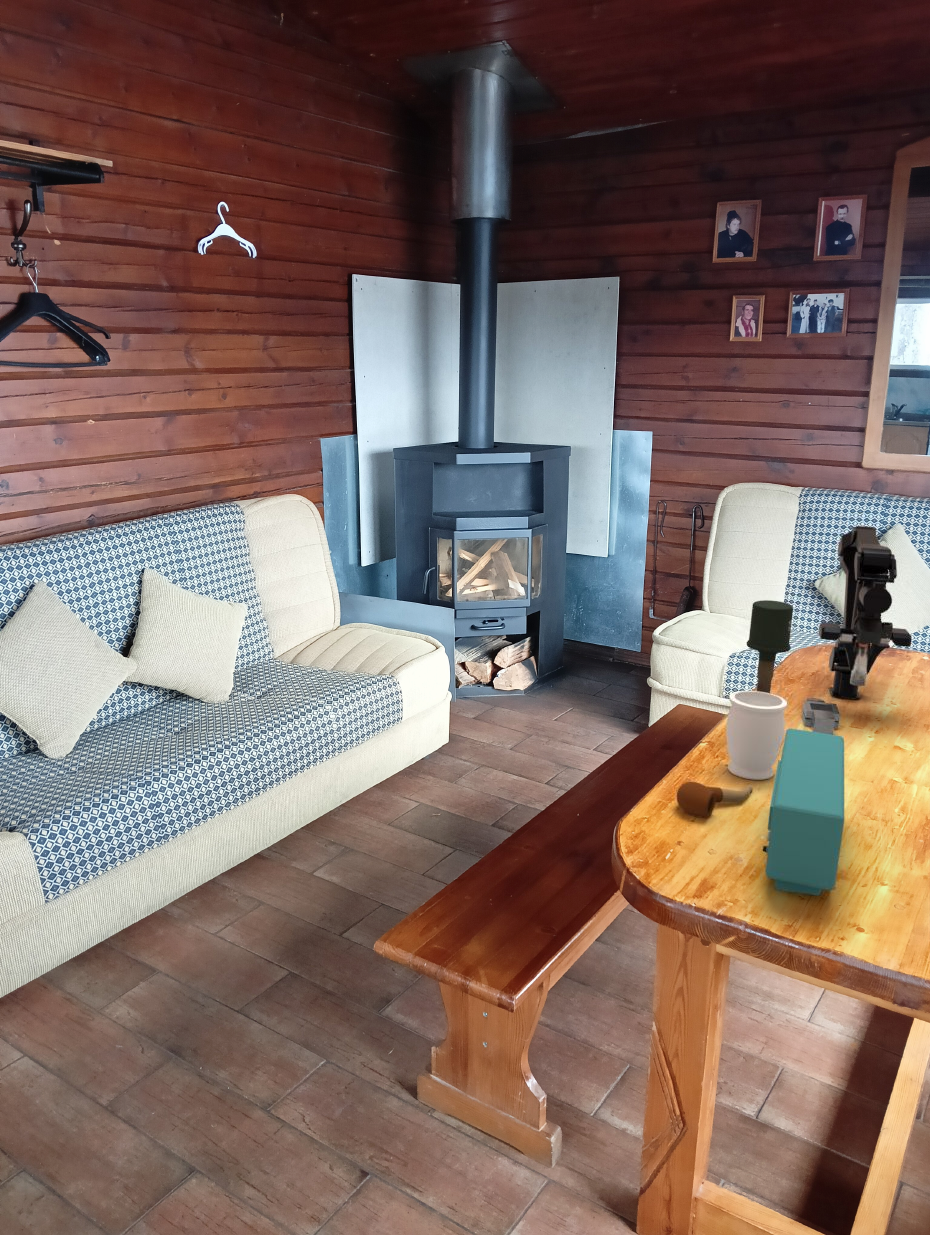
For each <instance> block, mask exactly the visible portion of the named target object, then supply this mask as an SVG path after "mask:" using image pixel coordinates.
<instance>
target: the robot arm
mask: <svg viewBox="0 0 930 1235" xmlns="http://www.w3.org/2000/svg"><path fill="white" fill-rule="evenodd" d="M837 557H839V566H840V568H841V569H842V571H843V573H844V574H845V587H844V591H845V592H844V604H843V606H844V608H843V624H842V625H843V626H842V627H841V626H840V625H839V623H837V622H825V621H823V622H821V623H819V626H818V633H817V634H818V636H819V638H820V639H821V640H827V641H834V642H835V644H834V646H833V647H832V650H831V652H830V655H829V659H828V668H829V670H830V672H834V675H833V676H834V678H833V683H832V686H829V688H828V689H829V693H830V695H831V697H832V698H833V697H834V698H839V699H840V698H841V699H852V700H861V699H862V698H861V695H860V692H859V687H860V686H855V685H852V684H850V679H851V671H852V668H853V656H854V649H855V641H856V640H857V641H858V642H859V643H862V644H865V643H871V646H870V653H869V660H868V668H867V675H868V674H870V671H871V669H872V667H873V665H874V664H875V662H876V660H877V658H878V657H879V656H880V654H881V653H882V652H883V651H884V650H885V649H890V647H891V646H890V642H892V643H893V645H895V646H896V647H906V648H909V647H911V646H912V640H913V639H912V638H913V637H912V634H910V632H909V631H908V630H907V629H906V628H899V627H898V628H897V627H894V625H893V622H889V621H887V622H886V621H883V622H882V614H883V613H885V612H887V611H888V610H889V609H890V608H891V606H892V603H893V597H892V595H891V593H890V591H889V590H888V589H887V584H888V583H889V584H894V583H895V579H897V577H898V572H897V570H898V569H897V559H896V558H895V557H896V555H895V554H892V550H891V549H890V547H888V546H885V545H881V543H880V541H879V537H878V536H877V528H876V527H873V526H865V525H864V526H863V525H856V526H852V528H851V531H849V532H847V533H845V534H843V535H841V538H840V540H839V542H838V546H837ZM867 675H866V676H867Z"/></svg>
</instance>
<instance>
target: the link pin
mask: <svg viewBox="0 0 930 1235" xmlns="http://www.w3.org/2000/svg"><path fill="white" fill-rule="evenodd" d="M870 647H871V643H865V644H862V643H859V642H858V641H857V640H856V641H855V649H854V656H853V668H852V671H851V679H850V684H852V685H855V686H859V687H864V686H866V682H867V681H866V680H867V668H868V660H869V653H870Z"/></svg>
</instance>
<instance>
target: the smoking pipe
mask: <svg viewBox="0 0 930 1235" xmlns="http://www.w3.org/2000/svg"><path fill="white" fill-rule="evenodd" d="M753 790H754V789H753V787H752V785H749V784H747V785H744V787H743V788H742V789H741V790H736V789H726V788H721V787H718V786H706V785H705V784H702V783H699V782H697V781H687V782H685V783H683V784H681V785H680V786H679V788H678V789H677V791H676V802H677V804H678V806H679V808H680V809H681V810H682V811H683V813H685V814H686V815H689V816H692V817H696V818H697V817H698V818H704V819H708V818H710V816H711V815H712V813H713V812H714V809H715V806H716V804H719V803H738V802H739V803H740V802H741V801H743V800H744V799H746V798H747V797H748V796H749V795H751V794H752V793H753Z"/></svg>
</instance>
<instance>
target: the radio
mask: <svg viewBox="0 0 930 1235" xmlns="http://www.w3.org/2000/svg"><path fill="white" fill-rule="evenodd" d="M783 740H784V742H783V746H782V752H781V758H780V760H777V766H776V770H775V778H774V783H773V788H772V795H771V801H770V804H769V813H768V814H769V815H768V822H767V830H768V832H767V835H766V841H767V842H768V845H763V847H762V852H764V853H766V854H767V855H766V861H765V862H766V863H765V864H766V865H765V871H764V872H765V875H766V877H767V878H768V879H773V880H774V883H775V884H774V885H775V890H778V891H784V892H791V893H798V894H805V895H813V896H821V893H822V890H826V891H832V890H833V889H834V888H835V886H836V880H837V874H838V867H839V861H840V853H841V852H840V851H841V847H842V846H841V845H842V838H843V834H844V833H843V831H844V825H845V739H844V737H843V736H842V735H837V734H833V735H832V734H825V733H818V732H813V730H812V731H810V730H804V729H799V728H788V729H787V730H785V734H784V739H783Z"/></svg>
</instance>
